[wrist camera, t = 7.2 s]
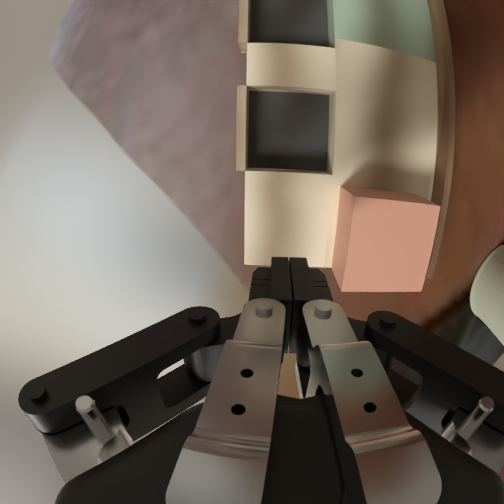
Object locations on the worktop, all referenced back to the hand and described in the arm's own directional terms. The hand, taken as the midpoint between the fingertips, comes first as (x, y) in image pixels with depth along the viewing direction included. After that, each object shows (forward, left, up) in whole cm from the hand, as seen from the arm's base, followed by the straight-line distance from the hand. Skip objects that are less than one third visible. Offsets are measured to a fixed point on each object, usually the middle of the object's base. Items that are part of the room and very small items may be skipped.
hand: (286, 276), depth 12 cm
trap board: (-4, -9, -10) cm, 14 cm away
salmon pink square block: (-7, 0, -8) cm, 10 cm away
